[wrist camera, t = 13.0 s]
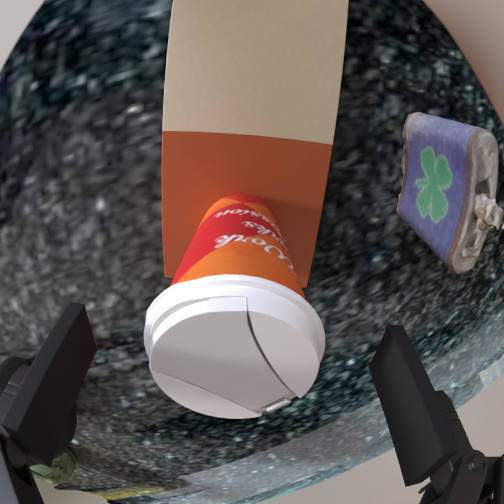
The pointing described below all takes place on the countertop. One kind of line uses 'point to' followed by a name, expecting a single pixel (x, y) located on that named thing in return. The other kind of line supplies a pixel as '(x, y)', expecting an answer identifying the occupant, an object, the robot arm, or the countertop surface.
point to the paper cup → (234, 318)
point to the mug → (56, 469)
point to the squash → (4, 372)
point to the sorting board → (250, 115)
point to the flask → (449, 187)
